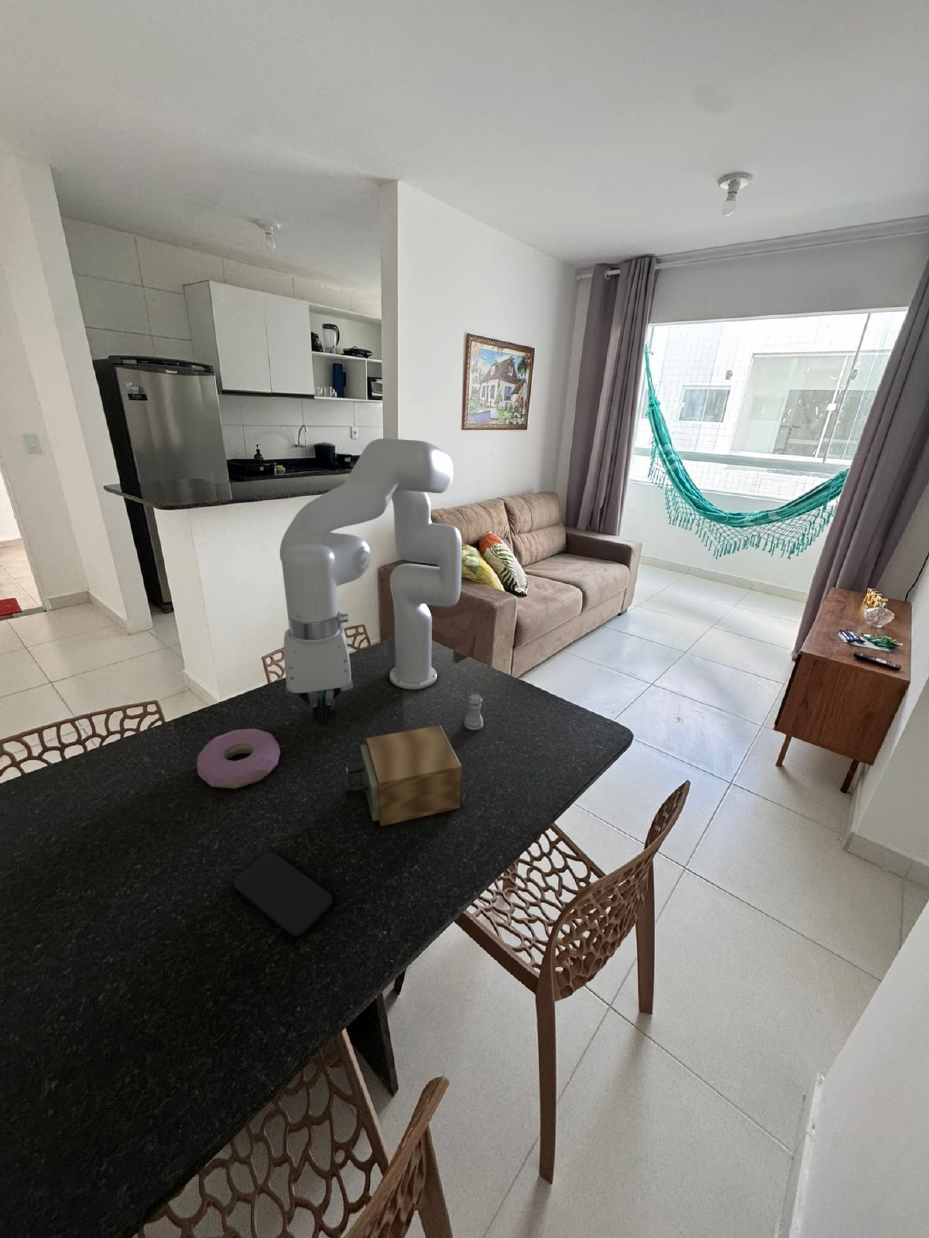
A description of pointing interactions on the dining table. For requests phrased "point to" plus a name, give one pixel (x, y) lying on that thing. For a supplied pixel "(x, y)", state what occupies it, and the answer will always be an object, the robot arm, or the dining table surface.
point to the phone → (283, 893)
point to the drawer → (368, 781)
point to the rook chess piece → (474, 713)
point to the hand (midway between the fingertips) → (322, 721)
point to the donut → (243, 771)
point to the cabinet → (415, 774)
